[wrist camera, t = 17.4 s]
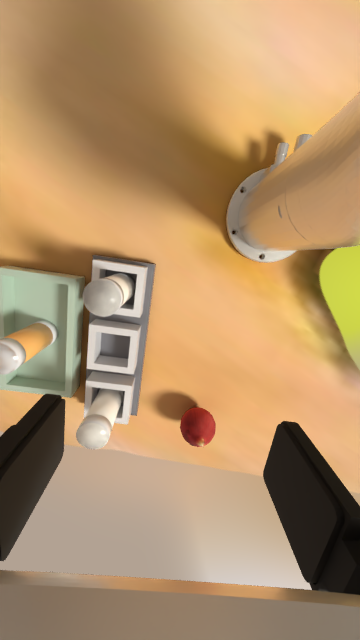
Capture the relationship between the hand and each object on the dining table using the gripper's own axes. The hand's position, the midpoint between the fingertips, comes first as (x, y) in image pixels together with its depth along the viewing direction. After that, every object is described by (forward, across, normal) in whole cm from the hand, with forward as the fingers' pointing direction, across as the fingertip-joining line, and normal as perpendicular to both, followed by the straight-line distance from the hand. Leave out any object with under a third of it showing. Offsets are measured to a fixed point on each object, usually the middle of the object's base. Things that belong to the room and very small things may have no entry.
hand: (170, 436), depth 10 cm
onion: (+28, -7, +19) cm, 35 cm away
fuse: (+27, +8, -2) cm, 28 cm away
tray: (+28, +20, +7) cm, 35 cm away
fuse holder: (+28, +8, +7) cm, 30 cm away
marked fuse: (+27, +19, +7) cm, 34 cm away
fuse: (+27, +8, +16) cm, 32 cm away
